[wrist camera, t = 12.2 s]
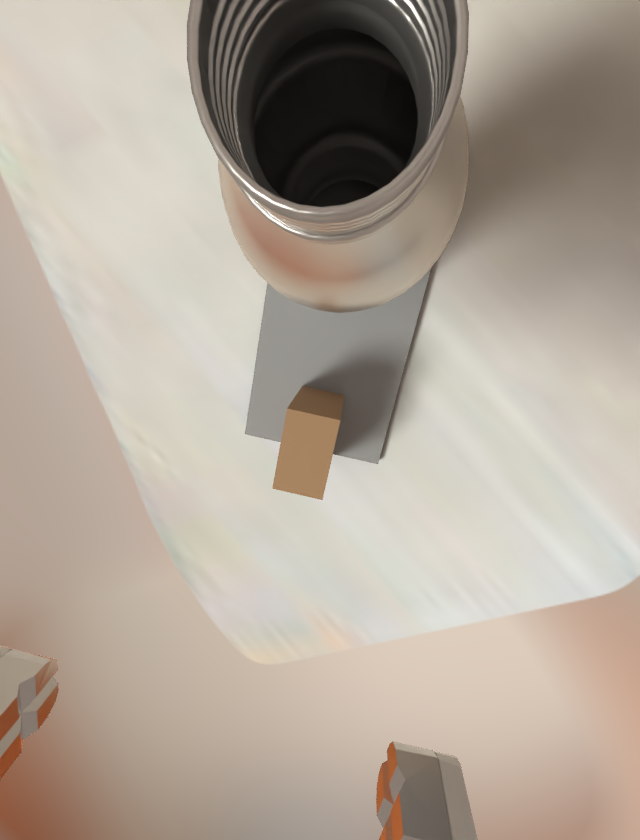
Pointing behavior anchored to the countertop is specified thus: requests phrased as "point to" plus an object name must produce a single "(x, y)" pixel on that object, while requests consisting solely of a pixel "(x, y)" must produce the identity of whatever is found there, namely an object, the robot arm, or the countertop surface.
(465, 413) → the countertop surface
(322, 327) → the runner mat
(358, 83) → the plastic bottle
